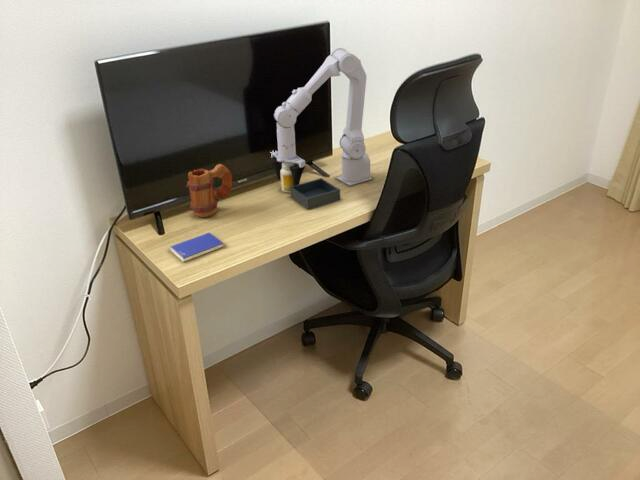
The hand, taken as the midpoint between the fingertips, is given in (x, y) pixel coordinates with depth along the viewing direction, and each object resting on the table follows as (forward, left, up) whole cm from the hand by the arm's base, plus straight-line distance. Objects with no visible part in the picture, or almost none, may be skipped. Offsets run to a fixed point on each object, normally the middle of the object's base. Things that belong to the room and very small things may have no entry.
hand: (288, 181), depth 194 cm
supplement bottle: (0, 0, -3) cm, 3 cm away
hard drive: (+41, +19, -3) cm, 45 cm away
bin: (-4, +11, -3) cm, 12 cm away
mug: (+28, 0, -3) cm, 28 cm away
